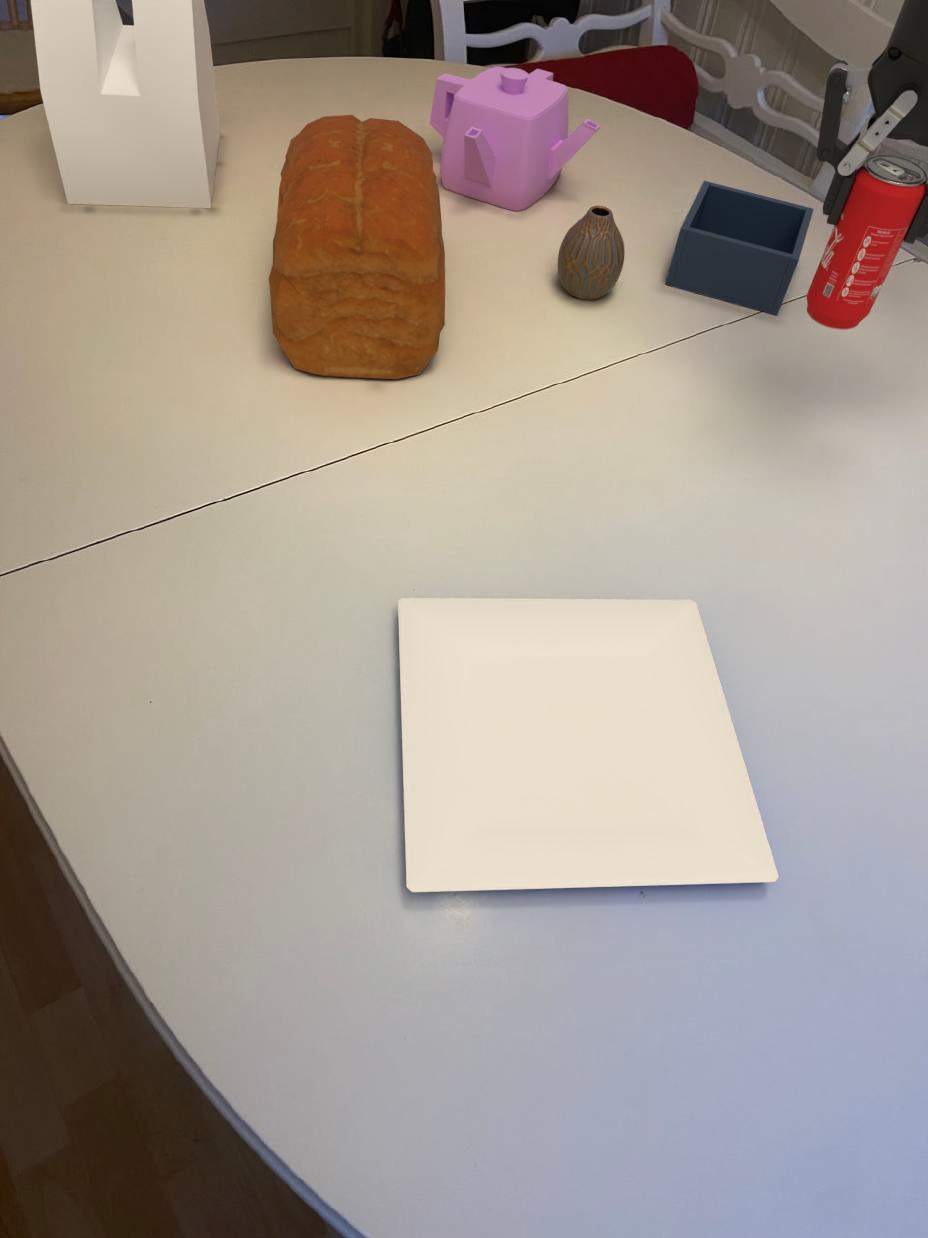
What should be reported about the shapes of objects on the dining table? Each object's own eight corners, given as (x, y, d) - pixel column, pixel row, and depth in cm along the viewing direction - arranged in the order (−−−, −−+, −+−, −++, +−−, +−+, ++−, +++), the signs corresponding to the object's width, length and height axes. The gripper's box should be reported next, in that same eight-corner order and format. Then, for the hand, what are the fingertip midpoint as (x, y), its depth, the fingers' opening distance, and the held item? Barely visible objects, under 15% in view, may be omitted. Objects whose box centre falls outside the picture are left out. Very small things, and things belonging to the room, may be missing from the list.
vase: (546, 298, 98) (559, 217, 92) (560, 267, 103) (575, 188, 96) (609, 313, 98) (627, 234, 91) (621, 281, 102) (640, 203, 95)
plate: (396, 613, 69) (398, 595, 67) (688, 615, 71) (696, 597, 70) (405, 905, 54) (406, 890, 53) (769, 894, 57) (781, 880, 55)
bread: (434, 239, 104) (444, 88, 92) (444, 384, 87) (458, 221, 75) (289, 231, 102) (279, 76, 90) (270, 377, 85) (255, 209, 73)
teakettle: (537, 145, 122) (552, 40, 113) (591, 207, 113) (613, 98, 103) (415, 153, 118) (420, 45, 108) (460, 219, 108) (470, 106, 98)
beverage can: (837, 339, 75) (904, 191, 65) (789, 307, 77) (846, 161, 68) (877, 321, 77) (946, 176, 68) (828, 291, 79) (889, 147, 70)
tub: (792, 262, 108) (814, 208, 103) (777, 315, 100) (798, 259, 95) (688, 234, 110) (704, 180, 105) (664, 284, 102) (680, 227, 97)
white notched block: (92, 127, 114) (39, -127, 95) (220, 133, 116) (193, -115, 97) (67, 203, 102) (1, -71, 83) (211, 208, 104) (179, -58, 85)
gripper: (1096, -23, 59) (965, 230, 72) (870, -67, 62) (783, 186, 75) (1105, 12, 55) (964, 276, 68) (861, -37, 57) (770, 228, 70)
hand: (869, 228), depth 71 cm, fingers closed on beverage can, 5 cm apart
